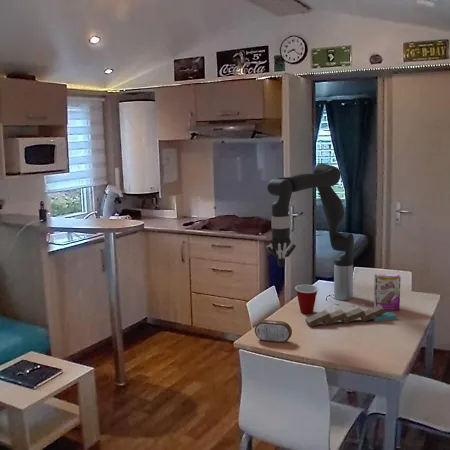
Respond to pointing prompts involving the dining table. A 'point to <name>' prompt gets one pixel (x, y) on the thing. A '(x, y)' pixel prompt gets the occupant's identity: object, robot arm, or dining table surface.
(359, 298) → the dining table surface
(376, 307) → the walnut domino
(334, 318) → the walnut domino
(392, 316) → the teal domino
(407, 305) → the dining table surface
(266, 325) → the tin
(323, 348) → the dining table surface
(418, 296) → the dining table surface
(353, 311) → the walnut domino
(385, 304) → the candy bar box
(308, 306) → the plastic cup
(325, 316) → the walnut domino
